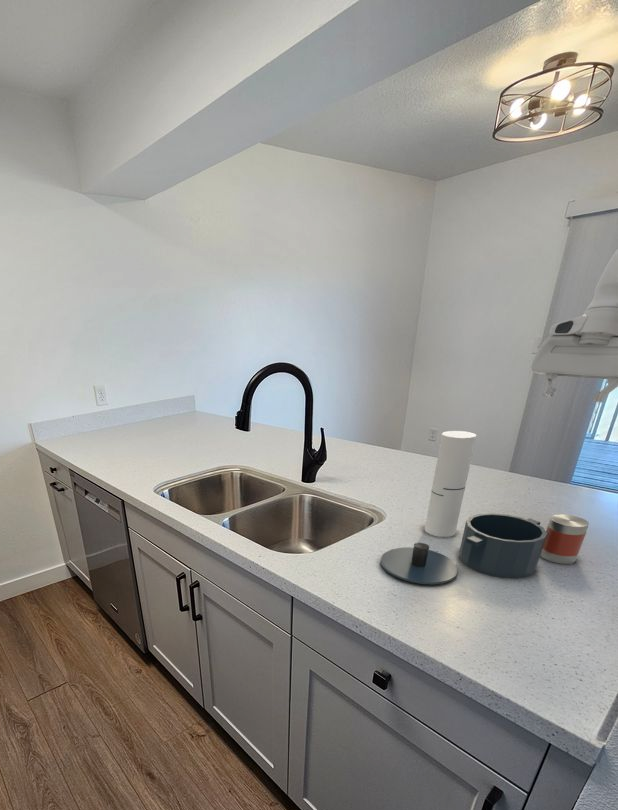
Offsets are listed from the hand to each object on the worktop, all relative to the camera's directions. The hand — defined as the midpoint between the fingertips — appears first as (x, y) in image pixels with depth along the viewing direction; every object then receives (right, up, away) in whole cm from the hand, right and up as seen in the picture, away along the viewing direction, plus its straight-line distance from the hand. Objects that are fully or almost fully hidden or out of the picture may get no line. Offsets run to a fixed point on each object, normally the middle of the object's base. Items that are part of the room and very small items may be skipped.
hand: (571, 398), depth 93 cm
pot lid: (-31, -36, +4) cm, 48 cm away
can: (+1, -34, +5) cm, 34 cm away
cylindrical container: (-18, -28, +20) cm, 39 cm away
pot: (-13, -35, +5) cm, 38 cm away
